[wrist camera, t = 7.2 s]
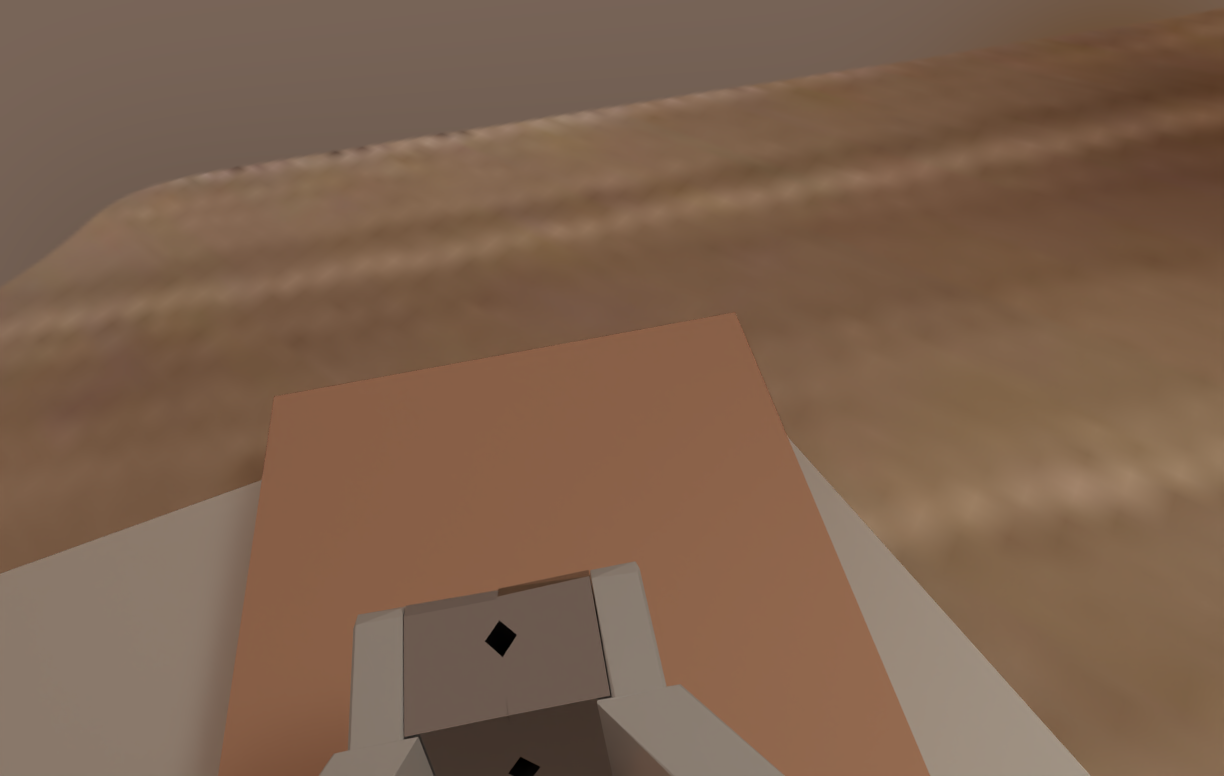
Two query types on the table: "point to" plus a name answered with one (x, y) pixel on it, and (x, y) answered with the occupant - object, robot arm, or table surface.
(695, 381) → the tile
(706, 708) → the robot arm
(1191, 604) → the table surface
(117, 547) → the mat
